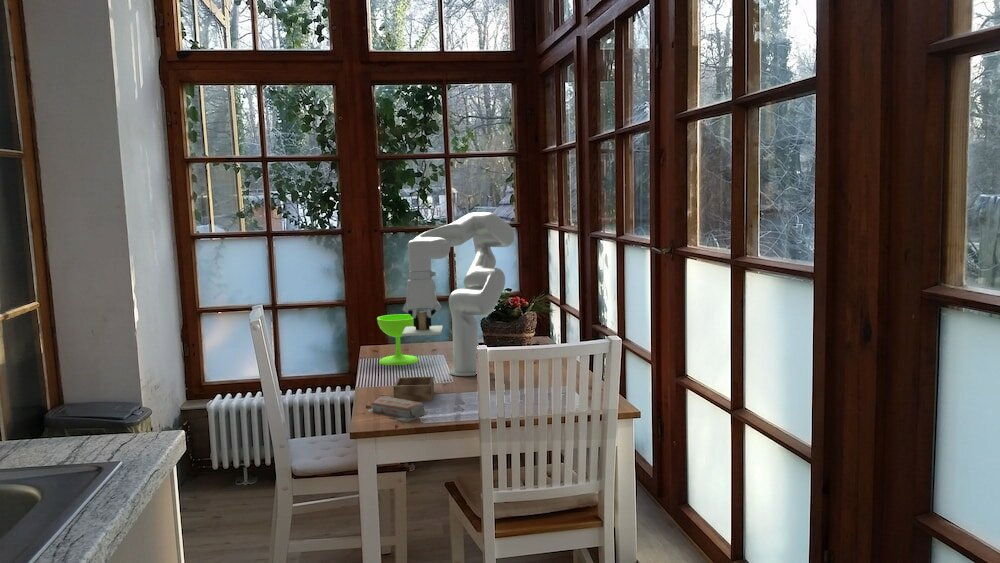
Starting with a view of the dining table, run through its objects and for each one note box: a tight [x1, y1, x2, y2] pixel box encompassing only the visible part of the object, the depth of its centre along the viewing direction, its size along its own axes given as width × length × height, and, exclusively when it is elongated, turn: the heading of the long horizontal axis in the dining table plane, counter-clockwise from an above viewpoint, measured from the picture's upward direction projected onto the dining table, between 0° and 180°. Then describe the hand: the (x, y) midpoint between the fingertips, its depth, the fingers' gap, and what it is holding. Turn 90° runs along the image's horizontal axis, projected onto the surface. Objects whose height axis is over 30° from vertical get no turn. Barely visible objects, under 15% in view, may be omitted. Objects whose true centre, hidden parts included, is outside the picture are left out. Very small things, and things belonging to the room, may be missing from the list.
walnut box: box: [393, 376, 435, 403], centre depth 251 cm, size 12×12×6 cm
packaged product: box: [363, 395, 429, 423], centre depth 235 cm, size 18×5×10 cm
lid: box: [402, 311, 444, 337], centre depth 264 cm, size 13×13×7 cm
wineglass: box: [376, 313, 419, 366], centre depth 310 cm, size 16×16×18 cm
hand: (422, 328), depth 264 cm, fingers closed on lid, 3 cm apart
